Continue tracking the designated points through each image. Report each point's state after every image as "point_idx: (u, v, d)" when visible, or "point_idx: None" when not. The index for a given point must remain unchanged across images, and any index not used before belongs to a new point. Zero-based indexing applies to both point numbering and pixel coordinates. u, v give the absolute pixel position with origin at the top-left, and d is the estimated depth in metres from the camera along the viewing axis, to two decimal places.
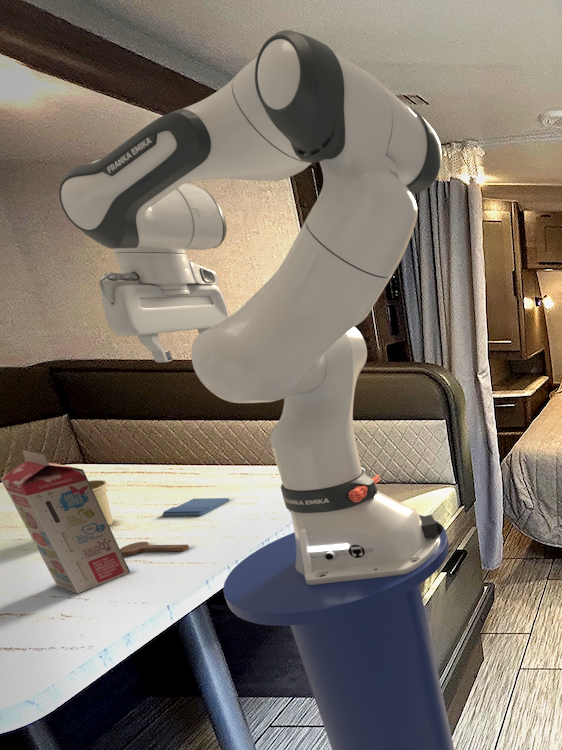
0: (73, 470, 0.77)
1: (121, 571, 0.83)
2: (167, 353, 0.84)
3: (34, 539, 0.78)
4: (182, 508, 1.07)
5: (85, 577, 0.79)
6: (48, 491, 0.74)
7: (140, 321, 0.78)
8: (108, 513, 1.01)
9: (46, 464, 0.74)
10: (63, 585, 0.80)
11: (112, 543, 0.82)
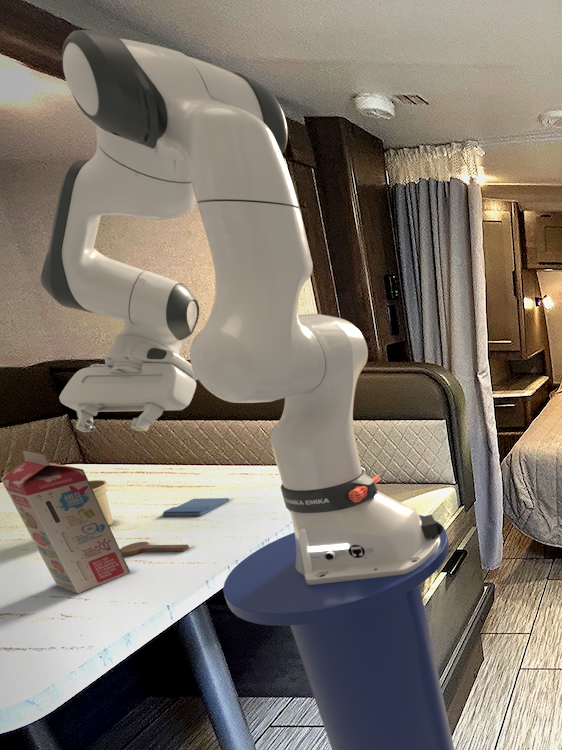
0: (73, 470, 0.77)
1: (121, 571, 0.83)
2: (82, 421, 0.86)
3: (34, 539, 0.78)
4: (182, 508, 1.07)
5: (85, 577, 0.79)
6: (48, 491, 0.75)
7: (70, 392, 0.87)
8: (108, 513, 1.01)
9: (46, 464, 0.74)
10: (63, 585, 0.80)
11: (112, 543, 0.82)
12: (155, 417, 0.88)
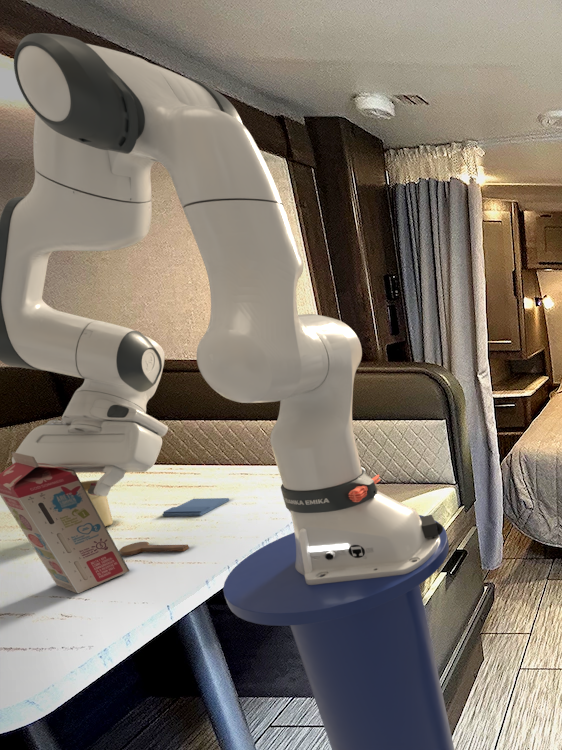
0: (64, 471, 0.76)
1: (120, 570, 0.83)
2: None
3: (30, 540, 0.77)
4: (182, 508, 1.07)
5: (84, 577, 0.79)
6: (40, 493, 0.74)
7: (23, 453, 0.80)
8: (108, 513, 1.01)
9: (36, 465, 0.73)
10: (63, 585, 0.80)
11: (109, 542, 0.82)
12: (116, 480, 0.81)
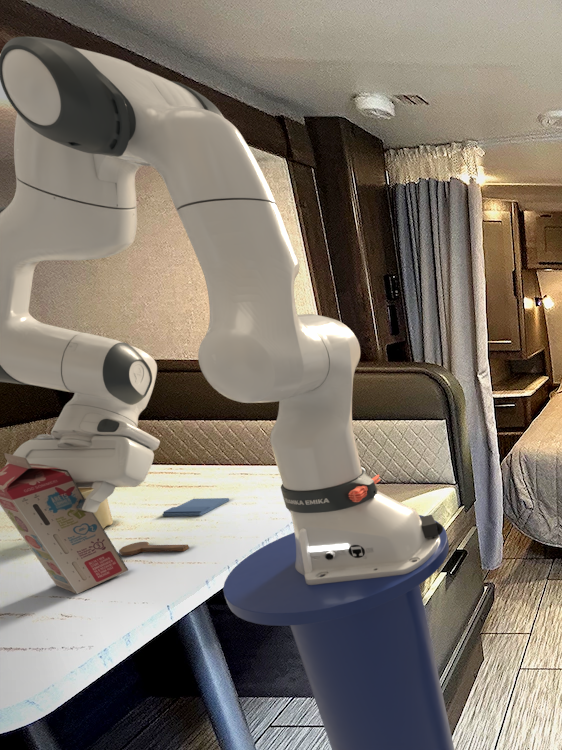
0: (57, 471, 0.75)
1: (119, 569, 0.83)
2: None
3: (27, 542, 0.77)
4: (182, 508, 1.07)
5: (83, 577, 0.79)
6: (34, 494, 0.73)
7: None
8: (108, 513, 1.01)
9: (28, 467, 0.73)
10: (62, 586, 0.80)
11: (106, 542, 0.81)
12: (105, 496, 0.79)
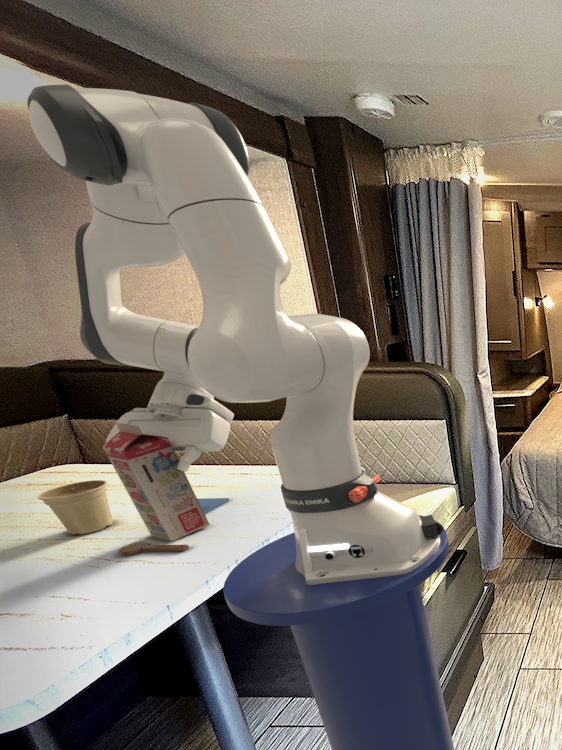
0: (160, 438, 0.91)
1: (202, 523, 0.99)
2: None
3: (132, 497, 0.93)
4: None
5: (176, 528, 0.95)
6: (143, 456, 0.89)
7: None
8: (108, 513, 1.01)
9: (139, 433, 0.88)
10: (158, 535, 0.96)
11: (194, 500, 0.97)
12: (194, 458, 0.95)
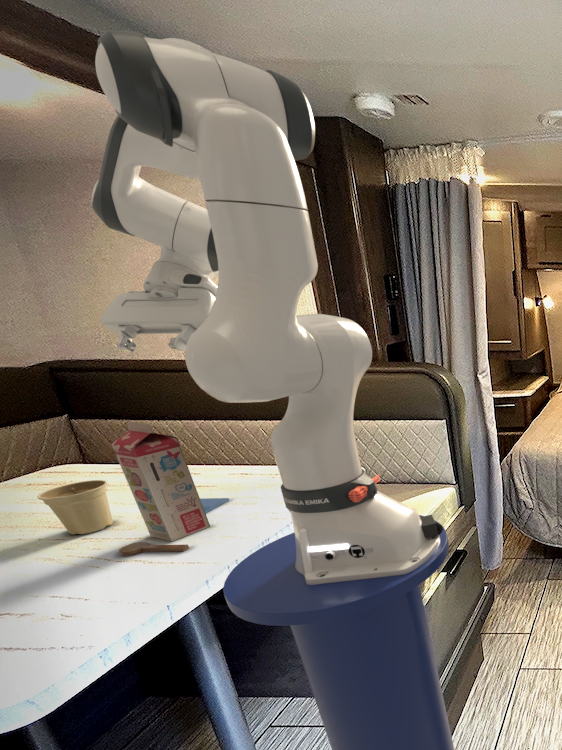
0: (169, 438, 0.93)
1: (203, 525, 0.99)
2: (123, 340, 0.91)
3: (135, 496, 0.93)
4: None
5: (177, 528, 0.95)
6: (151, 454, 0.90)
7: (110, 314, 0.92)
8: (108, 513, 1.01)
9: (150, 432, 0.90)
10: (158, 535, 0.96)
11: (197, 501, 0.98)
12: None
